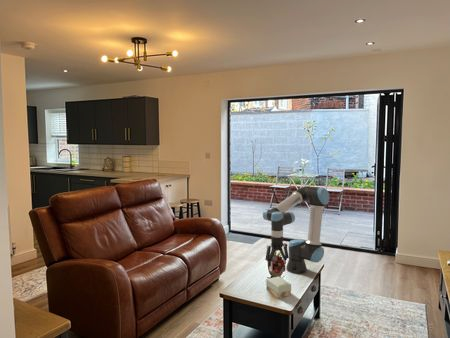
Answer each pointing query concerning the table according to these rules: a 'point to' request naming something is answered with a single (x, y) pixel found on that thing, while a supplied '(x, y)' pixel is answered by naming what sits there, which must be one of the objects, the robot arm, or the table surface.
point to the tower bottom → (279, 295)
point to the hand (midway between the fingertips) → (277, 270)
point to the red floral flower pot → (277, 264)
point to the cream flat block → (278, 284)
